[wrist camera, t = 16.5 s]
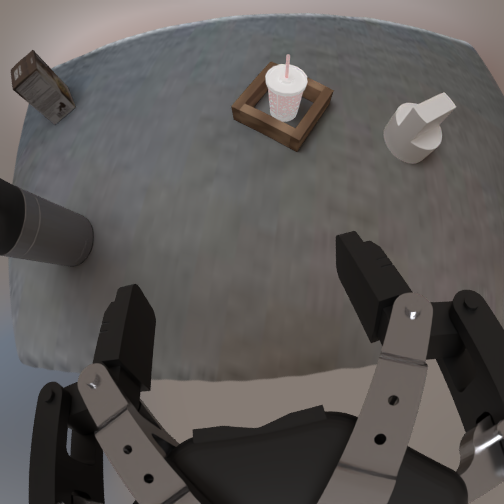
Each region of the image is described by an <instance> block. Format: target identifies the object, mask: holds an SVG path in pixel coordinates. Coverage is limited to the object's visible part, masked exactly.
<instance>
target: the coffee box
mask: <svg viewBox="0 0 504 504" xmlns="http://www.w3.org/2000/svg"><path fill="white" fill-rule="evenodd" d="M11 78H12V87H13V90H14V91H15V92H16V93H18V94H19V95H20V96H21V97H22V98H24V99H25V100H26V101H27V102H28V103H29V104H31V105H32V106H33V107H34V108H35V109H37V110H38V111H39V112H40V113H41V114H43V115H44V116H45V117H46V118H47V119H49V120H50V121H51V122H52V123H53V124H57V123H58V122H59V121H60V120H61V119H62V118H63V117H65V116H66V115H67V114H68V113H69V112H71V111H72V110H73V109H74V108H75V107H76V106H75V104H74V101H73V99H72V96H71V94H70V91H69V89H68V86H67V85H66V84H65V83H64V82H63V81H62V80H61V79H60V78H59V77H58V76H57V75H56V74H55V73H54V72H53V71H52V70H51V68H49V66H48V65H47V64H46V63H45V62H44V61H43V60H42V59H41V58H40V57H39V56H38V55H37V54H36V53H35V51H34V50H32V51H31V52H30V53H29V54H28V55H26V56H25V57H24V58H23V59H21V60H20V61H19V62H18V63H17V64H16V65H15V66H14V67H13V68H12V69H11Z"/></svg>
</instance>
